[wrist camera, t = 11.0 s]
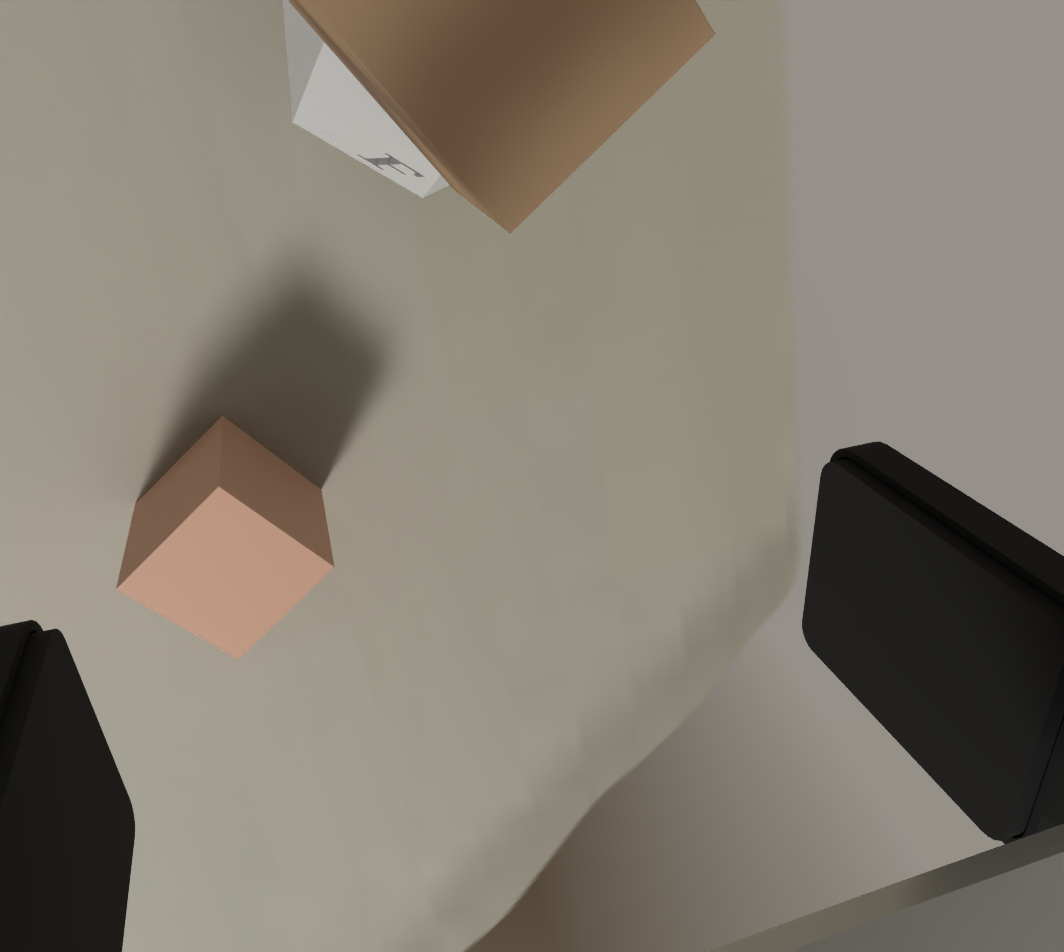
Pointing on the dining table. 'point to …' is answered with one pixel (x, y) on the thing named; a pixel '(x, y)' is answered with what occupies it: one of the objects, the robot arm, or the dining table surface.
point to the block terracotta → (226, 540)
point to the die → (349, 111)
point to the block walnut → (509, 80)
